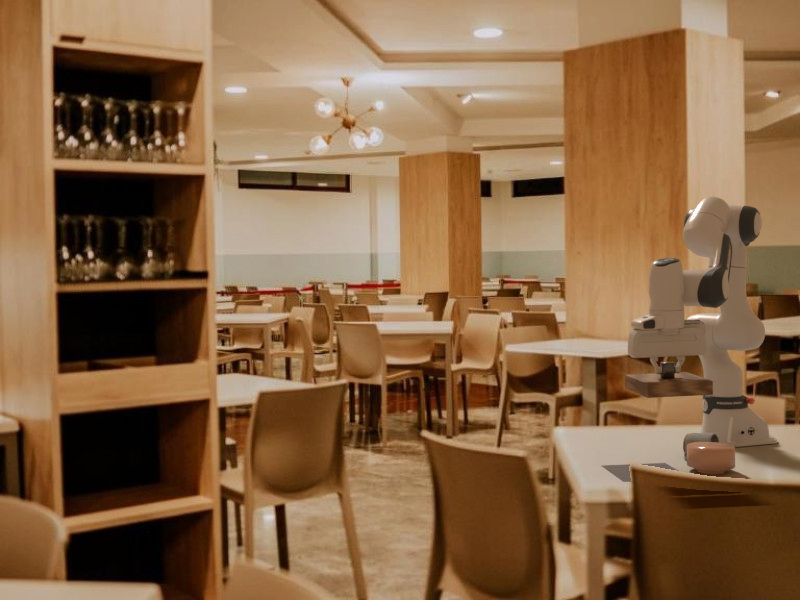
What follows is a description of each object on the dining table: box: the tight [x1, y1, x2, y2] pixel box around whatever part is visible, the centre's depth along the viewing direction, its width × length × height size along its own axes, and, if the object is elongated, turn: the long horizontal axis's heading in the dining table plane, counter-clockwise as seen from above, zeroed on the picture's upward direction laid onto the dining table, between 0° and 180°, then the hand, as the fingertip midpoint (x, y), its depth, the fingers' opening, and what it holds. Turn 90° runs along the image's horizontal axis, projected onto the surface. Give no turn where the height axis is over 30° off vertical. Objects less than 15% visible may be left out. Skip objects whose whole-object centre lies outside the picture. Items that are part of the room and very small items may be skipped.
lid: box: [624, 361, 713, 399], centre depth 242 cm, size 17×17×8 cm
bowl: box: [686, 442, 736, 475], centre depth 243 cm, size 12×12×7 cm
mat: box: [601, 462, 679, 483], centre depth 243 cm, size 18×18×1 cm
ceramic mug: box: [682, 432, 719, 462], centre depth 257 cm, size 11×8×8 cm
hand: (667, 373), depth 242 cm, fingers closed on lid, 4 cm apart
